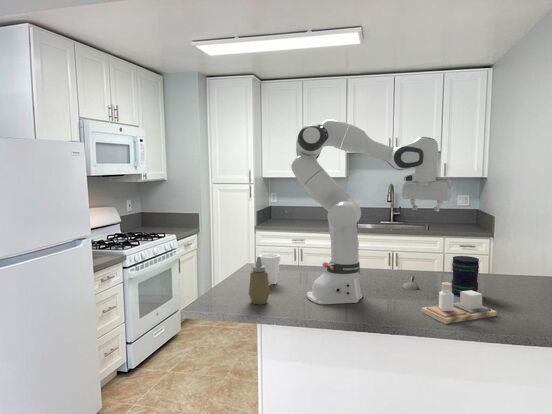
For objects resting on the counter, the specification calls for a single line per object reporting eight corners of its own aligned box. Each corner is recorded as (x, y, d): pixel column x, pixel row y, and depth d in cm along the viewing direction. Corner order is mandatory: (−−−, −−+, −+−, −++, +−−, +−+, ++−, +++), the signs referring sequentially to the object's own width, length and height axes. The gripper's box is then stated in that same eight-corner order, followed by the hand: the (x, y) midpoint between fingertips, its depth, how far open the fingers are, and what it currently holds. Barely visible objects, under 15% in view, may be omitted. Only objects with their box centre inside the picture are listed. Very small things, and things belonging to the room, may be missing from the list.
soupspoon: (401, 292, 172) (417, 294, 169) (402, 284, 171) (418, 286, 169) (405, 277, 192) (419, 279, 189) (405, 270, 191) (420, 272, 189)
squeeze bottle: (254, 307, 151) (253, 260, 149) (245, 301, 158) (245, 256, 156) (273, 303, 154) (272, 257, 153) (264, 298, 162) (263, 254, 160)
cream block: (470, 309, 141) (471, 295, 140) (459, 305, 145) (460, 291, 145) (481, 307, 142) (482, 294, 142) (470, 303, 147) (471, 290, 146)
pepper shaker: (441, 311, 138) (442, 285, 138) (438, 308, 142) (438, 281, 141) (453, 312, 138) (454, 285, 137) (449, 308, 142) (450, 282, 141)
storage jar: (447, 294, 164) (448, 258, 163) (456, 289, 171) (457, 254, 170) (473, 299, 157) (474, 262, 156) (481, 293, 164) (482, 258, 163)
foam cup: (284, 282, 184) (283, 254, 183) (273, 287, 176) (272, 258, 175) (266, 279, 189) (266, 252, 188) (255, 284, 181) (255, 256, 180)
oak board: (445, 323, 133) (445, 317, 133) (421, 311, 144) (421, 306, 144) (496, 315, 140) (496, 310, 140) (469, 304, 151) (469, 299, 151)
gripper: (455, 177, 159) (454, 211, 160) (407, 176, 174) (407, 208, 175) (448, 177, 154) (447, 213, 156) (400, 177, 169) (399, 209, 171)
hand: (425, 210), depth 165 cm, fingers open, 8 cm apart
